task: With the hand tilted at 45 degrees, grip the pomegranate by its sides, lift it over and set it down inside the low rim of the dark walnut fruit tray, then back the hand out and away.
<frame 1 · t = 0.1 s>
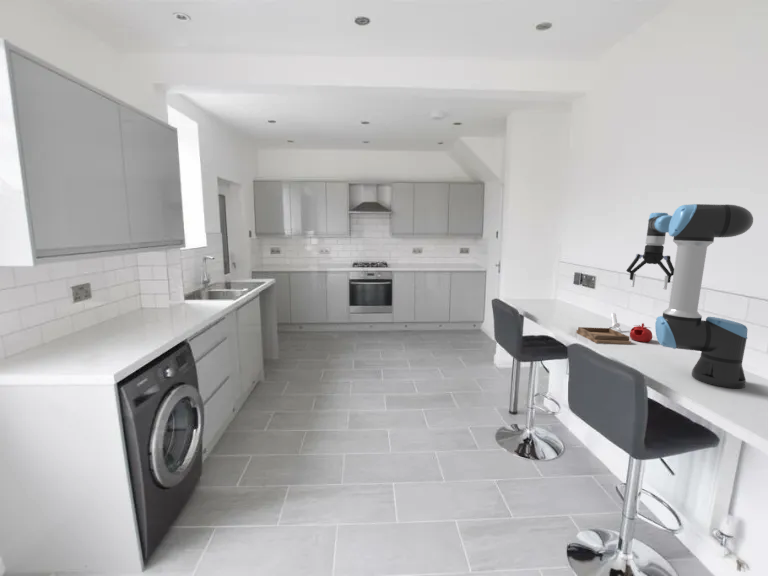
hand: (648, 287, 188), 28 cm above the countertop, tool pointing down, fingers open, 13 cm apart
tray: (602, 338, 197), on the countertop
pomegranate: (639, 340, 195), on the countertop
hook: (613, 331, 214), on the countertop
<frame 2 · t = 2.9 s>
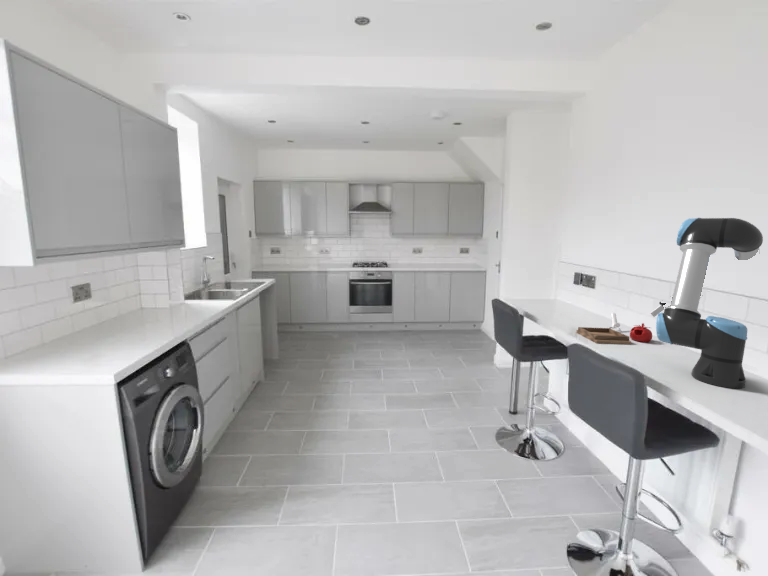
hand: (659, 317, 193), 12 cm above the countertop, tool tilted 45°, fingers open, 13 cm apart
nothing on the countertop moved.
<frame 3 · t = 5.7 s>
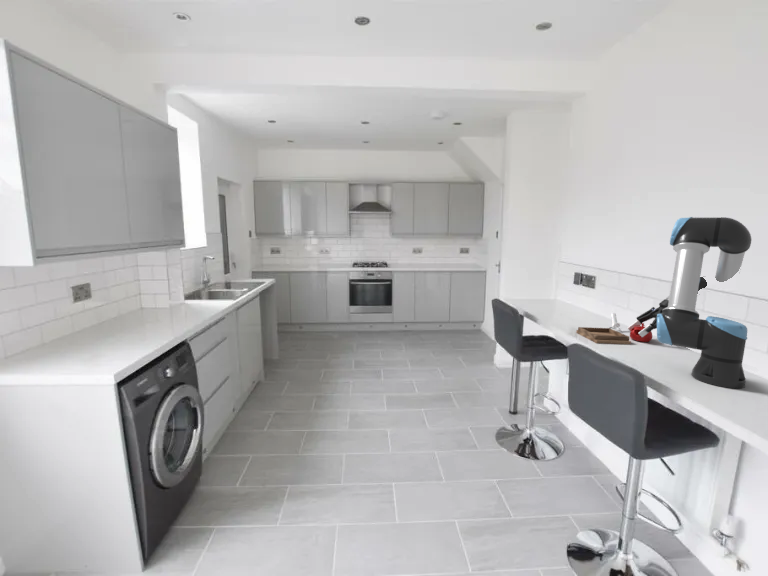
hand: (634, 332, 195), 4 cm above the countertop, tool tilted 45°, fingers closed on pomegranate, 10 cm apart
pomegranate: (639, 340, 195), on the countertop, touching gripper
everything else where it was.
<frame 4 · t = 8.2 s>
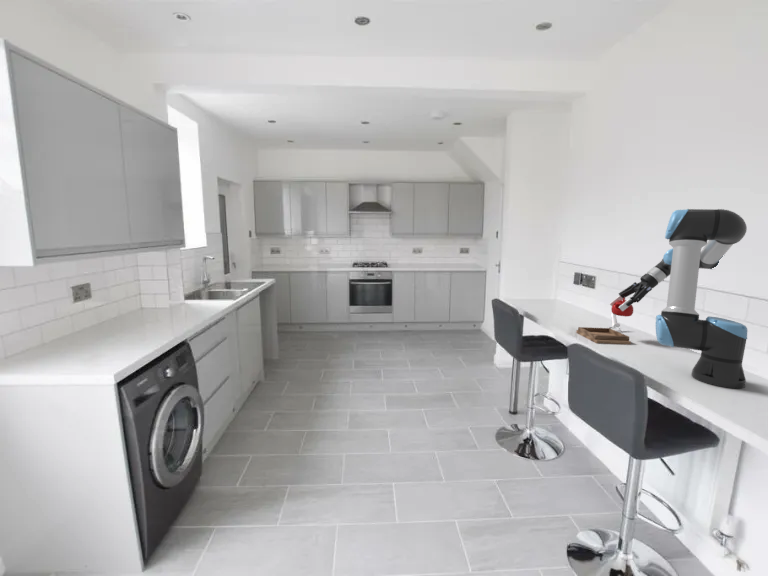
hand: (615, 307, 196), 16 cm above the countertop, tool tilted 45°, fingers closed on pomegranate, 10 cm apart
pomegranate: (621, 315, 196), point 12 cm above the countertop, touching gripper
everything else where it was.
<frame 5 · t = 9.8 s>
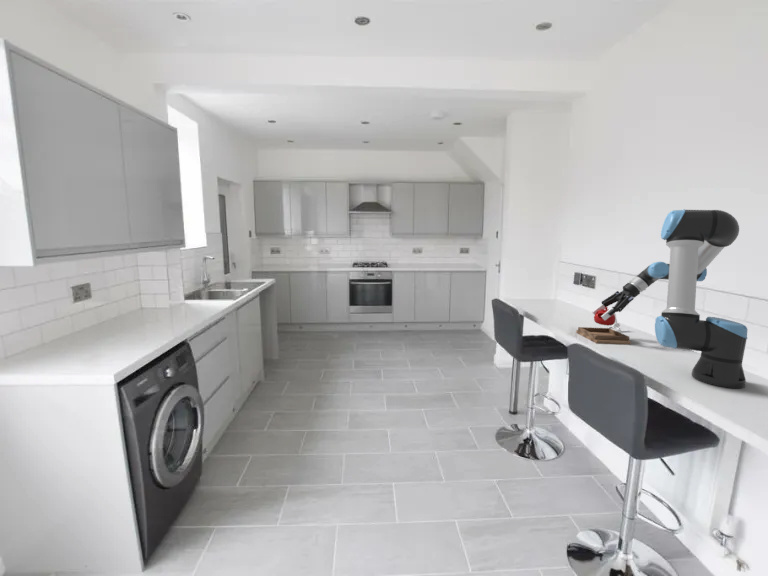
hand: (598, 316, 196), 12 cm above the countertop, tool tilted 45°, fingers closed on pomegranate, 10 cm apart
pomegranate: (603, 324, 196), point 7 cm above the countertop, touching gripper
everything else where it was.
when the fingers open (7 cm above the countertop, at t = 11.1 s): pomegranate drops 1 cm, resting on tray.
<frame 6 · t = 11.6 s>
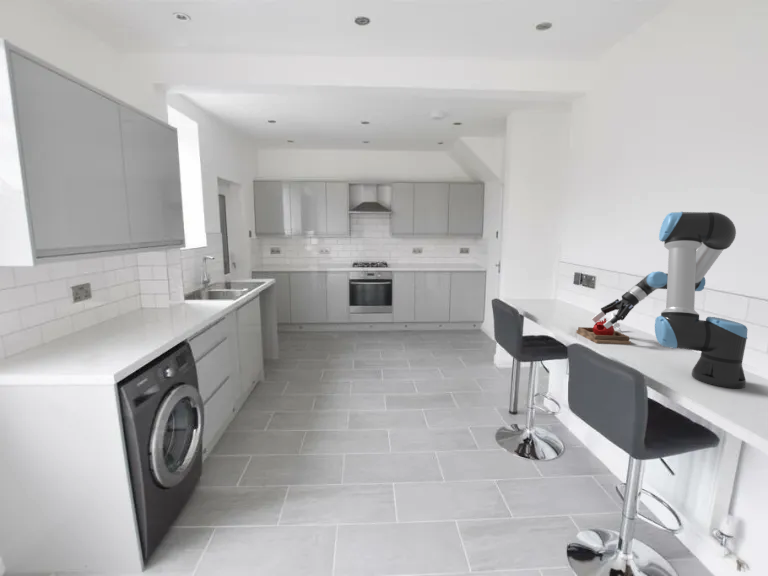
hand: (599, 323, 196), 8 cm above the countertop, tool tilted 45°, fingers open, 13 cm apart
pomegranate: (602, 335, 197), point 1 cm above the countertop, touching tray
everything else where it was.
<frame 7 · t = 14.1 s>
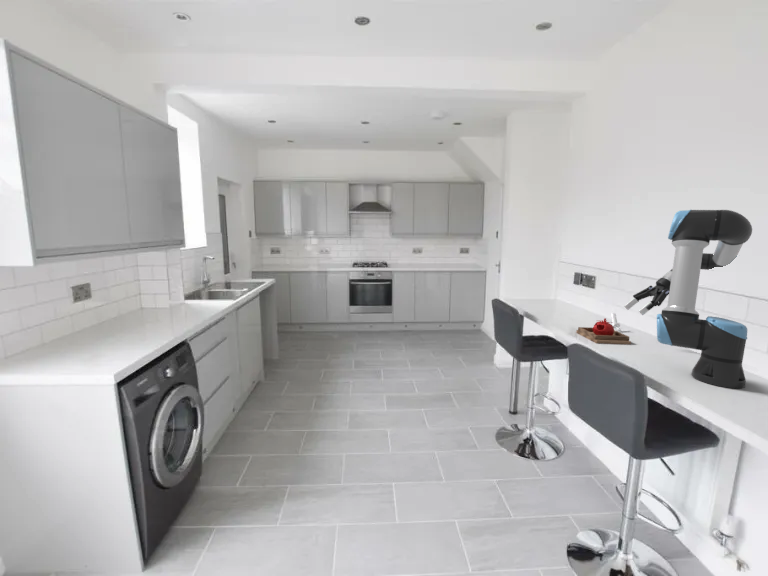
hand: (633, 310, 192), 16 cm above the countertop, tool tilted 45°, fingers open, 13 cm apart
nothing on the countertop moved.
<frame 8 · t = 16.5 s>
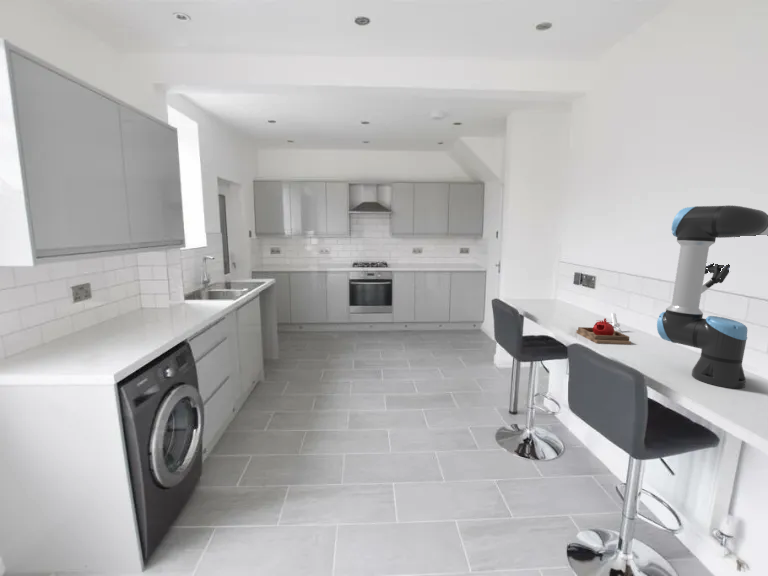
hand: (688, 289, 174), 30 cm above the countertop, tool tilted 45°, fingers open, 13 cm apart
nothing on the countertop moved.
at the end: pomegranate inside the target area on the tray (0.1 cm from its centre), point 1.3 cm above the tray's base; the gripper is holding nothing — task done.
